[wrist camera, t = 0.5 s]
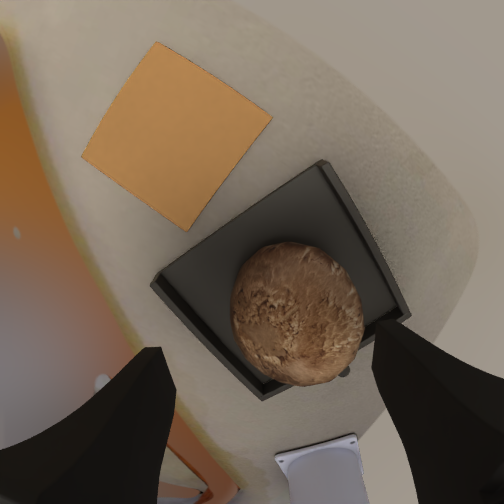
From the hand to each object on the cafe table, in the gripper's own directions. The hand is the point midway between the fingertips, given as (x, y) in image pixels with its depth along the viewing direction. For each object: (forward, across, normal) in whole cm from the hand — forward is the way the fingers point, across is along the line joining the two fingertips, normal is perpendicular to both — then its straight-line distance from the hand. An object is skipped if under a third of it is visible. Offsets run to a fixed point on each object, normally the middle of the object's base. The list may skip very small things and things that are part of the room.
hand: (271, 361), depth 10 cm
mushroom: (+9, -1, +2) cm, 10 cm away
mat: (+10, +4, -8) cm, 13 cm away
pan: (+9, -2, +4) cm, 10 cm away
